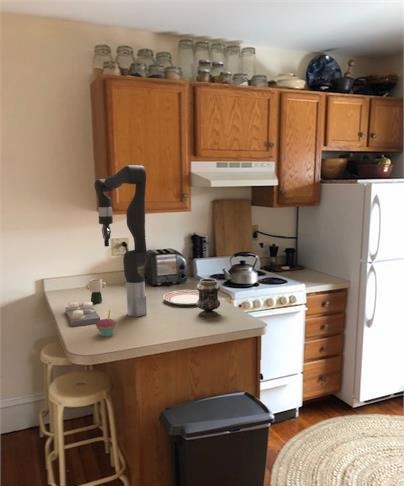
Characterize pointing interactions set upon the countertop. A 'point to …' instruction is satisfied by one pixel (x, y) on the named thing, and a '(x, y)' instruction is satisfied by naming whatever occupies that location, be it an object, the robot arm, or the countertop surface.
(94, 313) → the button board
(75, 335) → the countertop surface
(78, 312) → the button front
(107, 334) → the cupcake
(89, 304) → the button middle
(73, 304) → the button back
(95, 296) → the character mug
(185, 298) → the dinner plate
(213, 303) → the apothecary jar
